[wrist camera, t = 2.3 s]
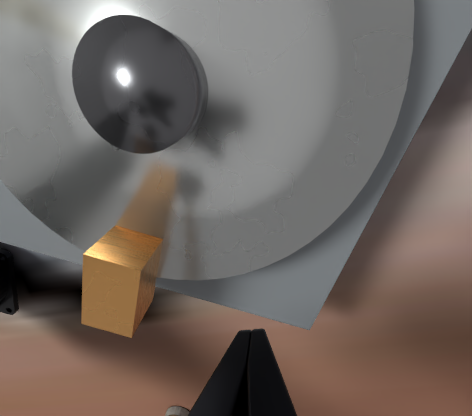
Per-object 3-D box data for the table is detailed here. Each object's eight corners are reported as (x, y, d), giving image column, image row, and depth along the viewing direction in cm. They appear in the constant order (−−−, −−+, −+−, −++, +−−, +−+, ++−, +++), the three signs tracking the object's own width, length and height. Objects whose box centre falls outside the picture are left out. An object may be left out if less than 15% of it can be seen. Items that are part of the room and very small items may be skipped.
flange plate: (288, 321, 16) (294, 384, 13) (-8, 236, 16) (-83, 277, 12) (518, -155, 8) (708, -339, 4) (-94, -338, 8) (-379, -672, 4)
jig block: (302, 286, 20) (309, 330, 16) (1, 199, 20) (-59, 225, 16) (515, -165, 10) (648, -300, 7) (-66, -339, 10) (-249, -572, 7)
